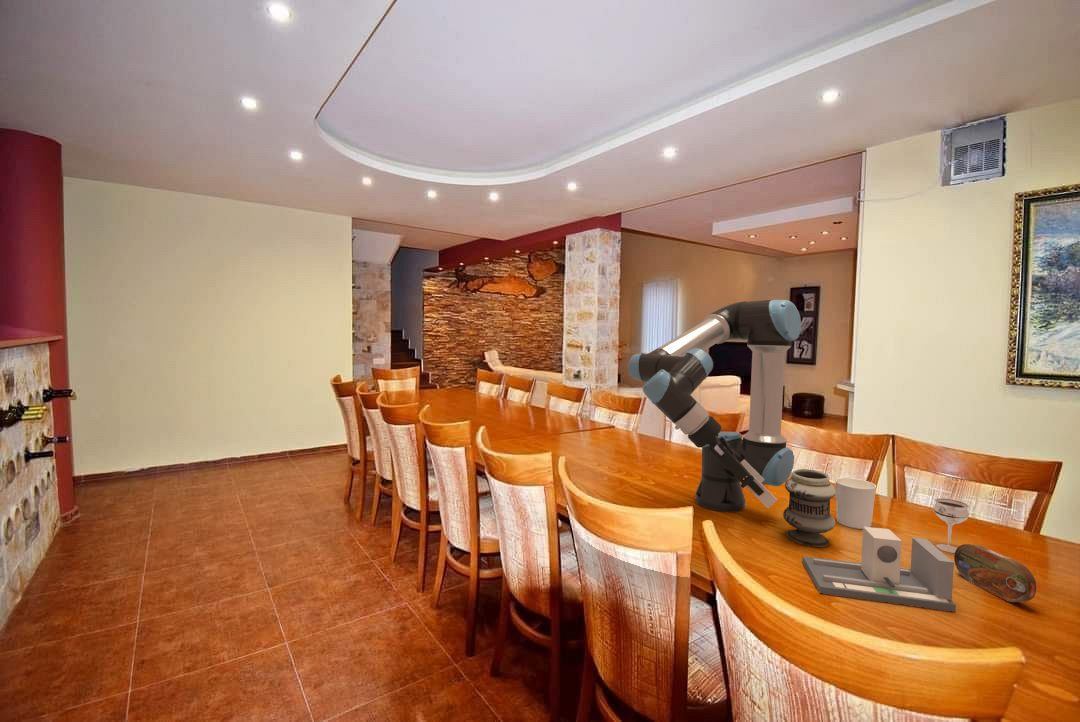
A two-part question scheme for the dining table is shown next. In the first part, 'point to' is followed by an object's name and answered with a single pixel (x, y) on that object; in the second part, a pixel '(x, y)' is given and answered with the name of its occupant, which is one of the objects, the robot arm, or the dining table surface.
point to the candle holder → (854, 502)
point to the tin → (995, 573)
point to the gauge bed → (916, 585)
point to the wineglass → (950, 517)
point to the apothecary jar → (809, 507)
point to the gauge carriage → (881, 555)
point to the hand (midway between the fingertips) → (765, 492)
